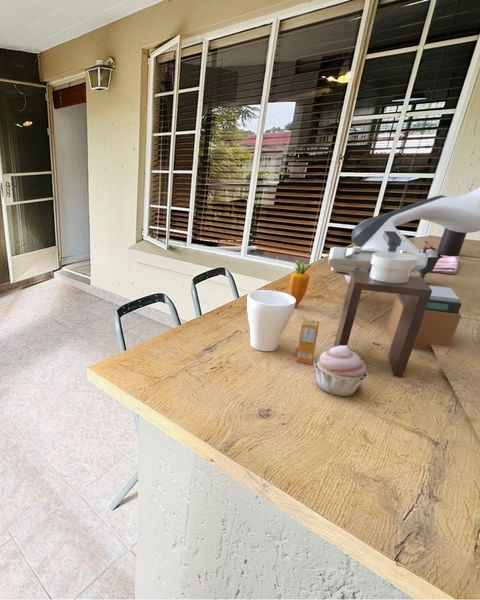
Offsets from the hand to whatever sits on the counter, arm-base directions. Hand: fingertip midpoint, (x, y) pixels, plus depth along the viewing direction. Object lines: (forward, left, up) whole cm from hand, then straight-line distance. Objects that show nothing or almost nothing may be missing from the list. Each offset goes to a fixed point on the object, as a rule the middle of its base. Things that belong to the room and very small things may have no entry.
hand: (380, 250), depth 87 cm
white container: (0, +13, -2) cm, 13 cm away
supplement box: (+12, +25, -22) cm, 35 cm away
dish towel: (-26, -78, -22) cm, 85 cm away
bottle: (-36, -97, -22) cm, 106 cm away
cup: (+21, +22, -22) cm, 37 cm away
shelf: (0, +19, -22) cm, 29 cm away
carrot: (+16, -9, -22) cm, 29 cm away
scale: (-11, +2, -22) cm, 25 cm away
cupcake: (+6, +34, -22) cm, 41 cm away
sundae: (-20, -50, -22) cm, 58 cm away
